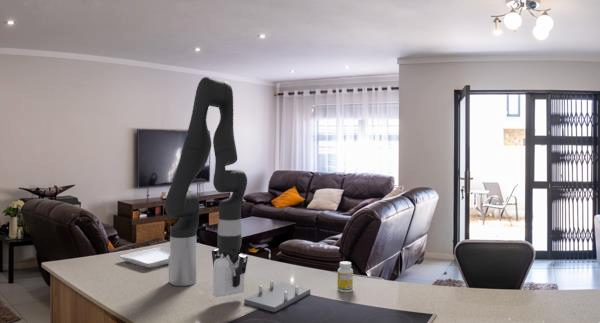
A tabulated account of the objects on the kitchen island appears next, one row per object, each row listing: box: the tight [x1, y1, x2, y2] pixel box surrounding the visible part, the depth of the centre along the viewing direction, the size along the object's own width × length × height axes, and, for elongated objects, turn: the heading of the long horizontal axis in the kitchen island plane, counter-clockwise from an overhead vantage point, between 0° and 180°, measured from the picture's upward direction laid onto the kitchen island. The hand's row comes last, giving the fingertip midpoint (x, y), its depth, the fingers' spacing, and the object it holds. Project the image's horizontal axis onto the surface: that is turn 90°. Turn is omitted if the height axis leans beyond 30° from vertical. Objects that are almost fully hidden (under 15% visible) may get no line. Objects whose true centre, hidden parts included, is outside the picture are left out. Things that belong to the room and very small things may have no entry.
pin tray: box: [243, 280, 311, 313], centre depth 141 cm, size 12×20×4 cm, turn 146°
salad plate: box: [119, 246, 170, 269], centre depth 184 cm, size 21×21×3 cm
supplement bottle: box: [337, 260, 354, 293], centre depth 149 cm, size 5×5×10 cm
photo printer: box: [212, 257, 245, 298], centre depth 137 cm, size 10×4×12 cm, turn 123°
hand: (228, 284), depth 138 cm, fingers closed on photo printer, 5 cm apart
